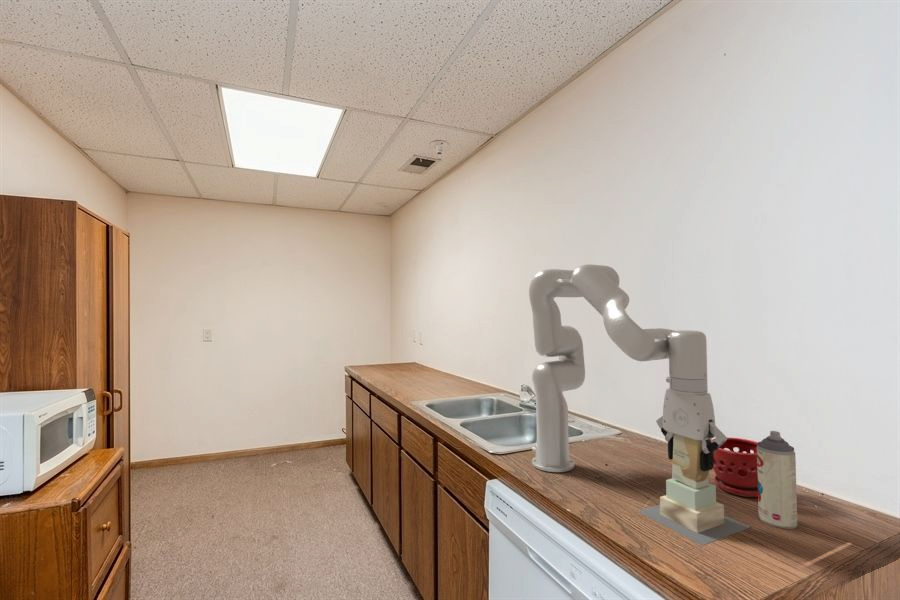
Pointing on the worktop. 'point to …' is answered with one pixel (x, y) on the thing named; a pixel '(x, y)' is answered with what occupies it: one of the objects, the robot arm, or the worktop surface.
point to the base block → (692, 515)
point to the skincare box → (688, 462)
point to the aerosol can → (777, 482)
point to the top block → (690, 494)
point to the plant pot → (737, 467)
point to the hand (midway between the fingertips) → (689, 463)
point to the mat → (701, 537)
